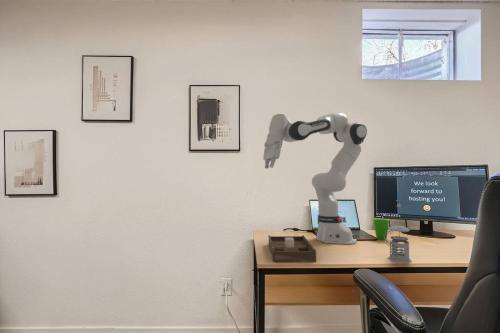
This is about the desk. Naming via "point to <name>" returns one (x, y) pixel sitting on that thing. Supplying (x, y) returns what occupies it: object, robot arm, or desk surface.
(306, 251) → the dark brown rimmed tray
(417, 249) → the desk surface
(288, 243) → the block
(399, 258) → the french press
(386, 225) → the cup
